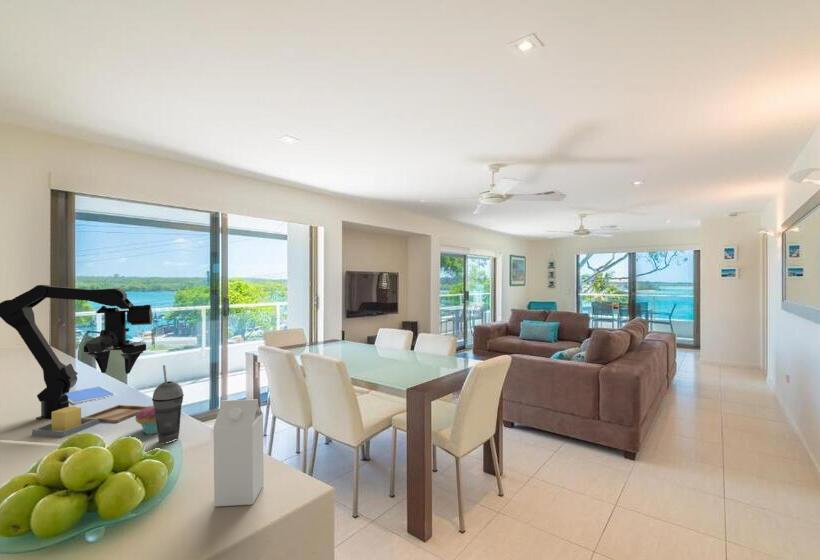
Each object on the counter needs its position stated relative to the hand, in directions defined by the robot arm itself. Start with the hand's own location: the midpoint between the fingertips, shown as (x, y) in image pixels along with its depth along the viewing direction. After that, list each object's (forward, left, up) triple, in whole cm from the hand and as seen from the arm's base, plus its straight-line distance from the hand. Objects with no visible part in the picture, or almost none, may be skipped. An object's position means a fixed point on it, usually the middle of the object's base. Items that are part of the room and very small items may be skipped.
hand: (115, 373), depth 131 cm
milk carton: (+72, -42, -12) cm, 84 cm away
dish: (+3, -18, -12) cm, 22 cm away
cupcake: (+28, -15, -12) cm, 34 cm away
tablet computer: (-25, +12, -13) cm, 30 cm away
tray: (+7, -6, -12) cm, 15 cm away
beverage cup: (+37, -20, -12) cm, 44 cm away
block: (+3, -18, -11) cm, 22 cm away
